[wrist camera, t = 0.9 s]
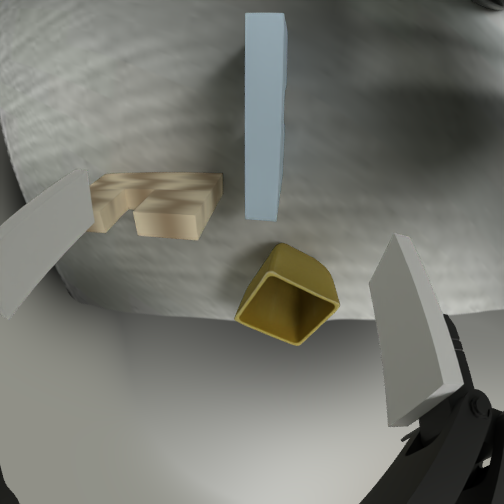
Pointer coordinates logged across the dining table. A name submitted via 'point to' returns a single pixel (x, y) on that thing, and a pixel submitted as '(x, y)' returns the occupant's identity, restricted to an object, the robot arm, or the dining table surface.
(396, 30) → the dining table surface
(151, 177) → the tan wooden block
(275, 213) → the pale blue upright slab
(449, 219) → the dining table surface
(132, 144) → the dining table surface
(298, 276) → the flower pot
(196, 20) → the dining table surface
